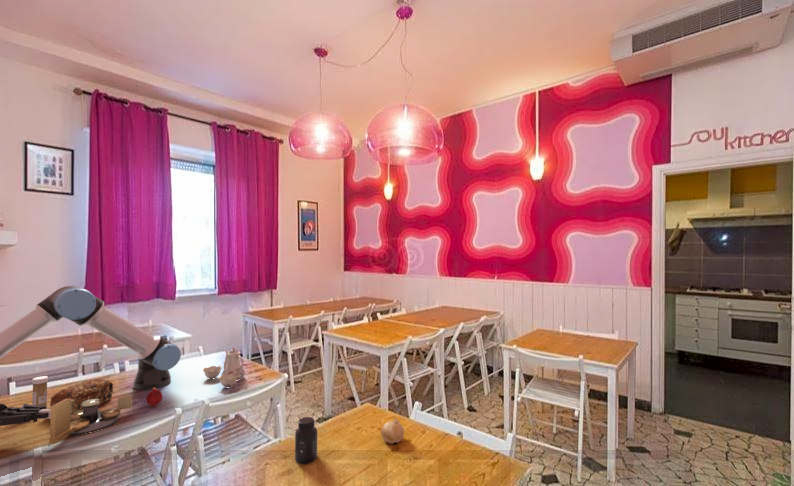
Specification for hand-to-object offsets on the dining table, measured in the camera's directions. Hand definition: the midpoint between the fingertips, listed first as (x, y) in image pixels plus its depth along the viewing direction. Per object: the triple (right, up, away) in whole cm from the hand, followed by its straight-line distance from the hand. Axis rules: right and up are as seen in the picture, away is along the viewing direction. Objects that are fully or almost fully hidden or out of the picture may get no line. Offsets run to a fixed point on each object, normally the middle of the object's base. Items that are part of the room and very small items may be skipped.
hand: (60, 413), depth 129 cm
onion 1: (+14, -10, +28) cm, 33 cm away
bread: (-15, -10, +27) cm, 33 cm away
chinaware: (+31, -11, +58) cm, 67 cm away
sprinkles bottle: (-29, -10, +23) cm, 38 cm away
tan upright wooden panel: (+1, -8, +2) cm, 8 cm away
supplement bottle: (+86, -10, -10) cm, 87 cm away
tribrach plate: (+1, -9, +13) cm, 16 cm away
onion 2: (+113, -10, +2) cm, 114 cm away
